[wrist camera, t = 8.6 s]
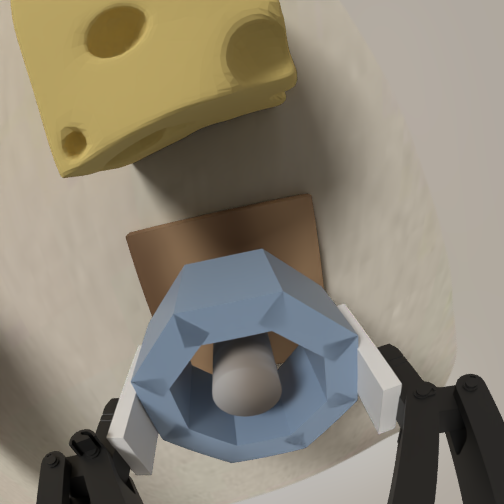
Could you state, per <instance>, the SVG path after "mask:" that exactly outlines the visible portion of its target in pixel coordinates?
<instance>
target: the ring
mask: <svg viewBox="0 0 504 504" xmlns="http://www.w3.org/2000/svg"><path fill="white" fill-rule="evenodd" d="M269 331H273V332H275V333H277V334H279V335H281V336H283V337H285V338H287V339H289V340H291V341H293V342H295V343H296V344H298V347H297V348H296V349H295V350H294V351H293V353H292V354H291V355H290V356H289V357H288V358H287V360H286V361H285V362H284V363H283V364H282V365H281V366H280V368H279V369H278V370H277V371H278V375H279V379H280V383H281V387H282V394H281V397H280V399H279V401H278V402H277V404H276V405H275V406H274V407H272V408H271V409H270V410H268V411H266V412H264V413H262V414H259V415H255V416H247V417H243V416H235V415H231V414H228V413H226V412H224V411H223V410H221V409H220V408H219V407H218V406H217V405H216V404H215V402H214V400H213V395H212V382H213V375H212V374H210V373H208V372H206V371H204V370H201V369H199V368H197V367H195V366H193V365H192V364H191V361H190V360H191V359H192V357H193V356H194V354H195V353H196V352H197V350H198V349H199V348H200V346H201V345H206V344H211V343H216V342H221V341H227V340H232V339H236V338H241V337H246V336H251V335H255V334H260V333H265V332H269ZM357 348H358V334H357V333H356V332H355V330H354V329H353V328H352V326H351V325H350V324H349V322H348V321H347V319H346V318H345V317H344V315H343V314H342V313H341V311H340V310H339V309H338V307H337V306H336V305H335V303H334V302H333V301H332V300H331V298H330V297H329V296H328V294H327V293H326V292H325V290H324V289H323V288H322V286H320V285H319V284H317V283H316V282H314V281H312V280H311V279H309V278H308V277H306V276H305V275H303V274H302V273H300V272H298V271H297V270H295V269H294V268H292V267H291V266H289V265H287V264H286V263H284V262H283V261H281V260H280V259H278V258H276V257H275V256H273V255H272V254H270V253H269V252H267V251H265V250H264V249H257V250H253V251H248V252H243V253H238V254H234V255H229V256H224V257H219V258H215V259H210V260H205V261H201V262H196V263H191V264H186V265H184V267H183V268H182V270H181V271H180V273H179V275H178V276H177V278H176V279H175V281H174V283H173V284H172V286H171V287H170V289H169V291H168V292H167V294H166V296H165V297H164V299H163V300H162V302H161V304H160V305H159V307H158V309H157V310H156V312H155V314H154V315H153V317H152V319H151V320H150V322H149V325H148V328H147V331H146V334H145V337H144V340H143V343H142V346H141V349H140V352H139V356H138V359H137V362H136V365H135V369H134V372H133V375H132V379H131V384H132V386H133V388H134V390H135V392H136V393H137V395H138V397H139V399H140V401H141V403H142V405H143V406H144V408H145V410H146V412H147V414H148V415H149V417H150V419H151V421H152V422H153V424H154V426H155V427H156V429H157V431H158V433H159V434H160V436H161V438H162V439H163V440H165V441H168V442H170V443H173V444H175V445H178V446H181V447H184V448H186V449H189V450H192V451H195V452H198V453H201V454H204V455H207V456H210V457H213V458H217V459H220V460H223V461H227V462H230V463H235V462H241V461H247V460H253V459H258V458H263V457H268V456H273V455H278V454H282V453H287V452H291V451H295V450H299V449H303V448H306V447H307V446H308V445H310V444H311V443H312V442H313V441H314V440H315V439H317V438H318V437H319V436H320V435H321V434H322V433H323V432H324V431H326V430H327V429H328V428H329V427H330V426H331V425H332V424H333V423H334V422H335V421H336V420H338V419H339V418H340V417H341V416H342V415H343V414H344V413H345V412H346V411H347V410H348V409H349V408H350V407H351V406H352V405H353V404H354V403H355V402H356V401H357V399H358V393H357V382H358V365H357Z"/></svg>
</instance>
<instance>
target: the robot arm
mask: <svg viewBox="0 0 504 504" xmlns="http://www.w3.org/2000/svg"><path fill="white" fill-rule="evenodd" d="M337 307H338V309H339V310H340V311H341V313H342V314H343V315H344V317H345V318H346V319H347V321H348V322H349V324H350V325H351V326H352V328H353V329H354V330H355V332H356V333H357V334H358V348H357V365H358V382H357V393H358V395H359V397H360V399H361V401H362V403H363V405H364V407H365V409H366V411H367V413H368V415H369V417H370V419H371V420H372V422H373V424H374V426H375V428H376V430H377V433H378V434H381V433H384V432H386V431H389V430H392V429H394V428H395V425H396V420H397V422H398V424H399V426H400V432H399V437H398V441H397V442H398V447H397V454H396V461H395V467H394V473H393V478H392V484H391V489H390V494H389V499H388V503H387V504H434V502H435V494H436V484H437V471H438V454H439V433H443V432H445V434H446V437H447V440H448V444H449V447H450V451H451V455H452V458H453V462H454V466H455V470H456V474H457V478H458V482H459V487H460V491H461V496H462V500H463V504H504V422H503V419H502V417H501V414H500V413H499V410H498V408H497V406H496V404H495V402H494V400H493V398H492V396H491V394H490V392H489V390H488V388H487V386H486V384H485V382H484V380H483V379H482V378H481V377H479V376H478V375H474V374H466V375H463V376H461V377H460V378H459V379H458V380H457V383H456V385H454V386H447V387H436V386H435V385H434V384H432V383H430V382H424V381H423V380H422V379H421V377H420V376H419V375H418V374H417V372H416V371H415V370H414V368H413V367H412V366H411V365H410V363H409V362H408V361H407V359H406V358H405V357H404V356H403V354H402V353H401V352H400V350H399V349H398V348H396V347H394V346H392V345H391V344H387V345H384V346H381V347H378V348H377V347H376V346H375V345H374V343H373V342H372V340H371V339H370V338H369V336H368V335H367V333H366V332H365V331H364V329H363V328H362V327H361V325H360V324H359V322H358V321H357V320H356V318H355V317H354V315H353V314H352V313H351V311H350V310H349V309H348V307H347V306H346V305H345V304H341V305H337ZM141 346H142V345H139V346H138V348H137V351H136V353H135V356H134V359H133V362H132V364H131V367H130V370H129V373H128V375H127V378H126V381H125V384H124V387H123V389H122V392H121V395H120V398H114V399H111V400H110V401H109V402H108V404H107V405H106V406H105V408H104V411H103V415H102V417H101V419H100V420H101V421H100V422H99V425H98V428H97V431H96V433H94V432H93V431H91V430H88V429H84V430H80V431H78V432H76V433H75V434H74V435H73V436H72V437H71V439H70V442H69V446H70V447H71V448H72V449H73V450H74V452H75V453H76V454H77V455H75V456H71V457H65V456H64V455H63V454H62V453H61V452H59V451H54V452H50V453H49V454H47V455H46V456H45V457H44V458H43V461H42V464H41V470H40V477H39V485H38V493H37V503H36V504H143V502H142V500H141V498H140V496H139V493H138V491H137V489H136V487H135V484H134V482H133V480H132V479H131V477H130V476H129V472H130V469H131V470H132V471H133V472H134V473H135V474H136V475H152V469H153V463H154V456H155V450H156V444H157V438H158V431H157V429H156V427H155V426H154V424H153V422H152V421H151V419H150V417H149V415H148V414H147V412H146V410H145V408H144V406H143V405H142V403H141V401H140V399H139V397H138V395H137V393H136V392H135V390H134V388H133V386H132V384H131V379H132V375H133V372H134V369H135V365H136V362H137V359H138V356H139V352H140V349H141Z"/></svg>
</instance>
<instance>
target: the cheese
mask: <svg viewBox="0 0 504 504" xmlns="http://www.w3.org/2000/svg"><path fill="white" fill-rule="evenodd" d="M11 10H12V18H13V23H14V28H15V32H16V36H17V39H18V43H19V46H20V50H21V53H22V56H23V59H24V62H25V66H26V69H27V72H28V75H29V78H30V82H31V85H32V88H33V91H34V95H35V98H36V102H37V105H38V108H39V112H40V115H41V119H42V122H43V126H44V129H45V132H46V136H47V139H48V142H49V146H50V149H51V152H52V155H53V158H54V161H55V163H56V166H57V168H58V171H59V173H60V175H61V176H62V178H68V177H76V176H83V175H88V174H93V173H95V172H99V171H104V170H110V169H116V168H120V167H123V166H126V165H129V164H132V163H135V162H137V161H139V160H141V159H143V158H145V157H146V156H148V155H150V154H152V153H154V152H156V151H158V150H160V149H162V148H164V147H166V146H168V145H170V144H172V143H175V142H177V141H179V140H181V139H183V138H185V137H186V136H188V135H190V134H191V133H193V132H195V131H197V130H199V129H201V128H204V127H206V126H209V125H212V124H215V123H218V122H223V121H227V120H230V119H233V118H236V117H239V116H242V115H245V114H248V113H252V112H255V111H259V110H263V109H267V108H271V107H275V106H278V105H281V104H282V103H284V101H285V100H286V94H285V91H288V90H290V89H291V88H293V87H294V86H295V85H296V81H297V71H296V68H295V65H294V63H293V60H292V57H291V54H290V51H289V47H288V42H287V36H286V28H285V23H284V17H283V14H282V11H281V6H280V3H279V0H11Z"/></svg>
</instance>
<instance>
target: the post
mask: <svg viewBox="0 0 504 504" xmlns="http://www.w3.org/2000/svg"><path fill="white" fill-rule="evenodd" d="M126 240H127V243H128V246H129V250H130V253H131V256H132V259H133V262H134V266H135V269H136V272H137V275H138V278H139V281H140V284H141V287H142V289H143V292H144V295H145V298H146V301H147V304H148V306H149V309H150V312H151V315H152V317H153V315H154V314H155V312H156V310H157V309H158V307H159V305H160V304H161V302H162V300H163V299H164V297H165V296H166V294H167V292H168V291H169V289H170V287H171V286H172V284H173V283H174V281H175V279H176V278H177V276H178V275H179V273H180V271H181V270H182V268H183V267H184V265H186V264H191V263H196V262H201V261H205V260H210V259H215V258H219V257H224V256H229V255H234V254H238V253H243V252H248V251H253V250H257V249H264V250H265V251H267V252H269V253H270V254H272V255H273V256H275V257H276V258H278V259H280V260H281V261H283V262H284V263H286V264H287V265H289V266H291V267H292V268H294V269H295V270H297V271H298V272H300V273H302V274H303V275H305V276H306V277H308V278H309V279H311V280H312V281H314V282H316V283H317V284H319V285H320V286H322V288H323V289H324V285H323V276H322V268H321V259H320V252H319V244H318V237H317V229H316V222H315V216H314V209H313V202H312V196H311V195H310V194H308V193H307V194H301V195H296V196H291V197H286V198H281V199H276V200H271V201H266V202H261V203H256V204H251V205H247V206H242V207H237V208H233V209H228V210H223V211H219V212H214V213H210V214H205V215H201V216H197V217H192V218H188V219H184V220H179V221H175V222H171V223H167V224H163V225H159V226H154V227H150V228H146V229H142V230H138V231H134V232H130V233H129V234H128V235H127V236H126ZM297 347H298V344H296V343H295V342H293V341H291V340H289V339H287V338H285V337H283V336H281V335H279V334H277V333H275V332H273V331H269V332H265V333H260V334H255V335H251V336H246V337H241V338H236V339H232V340H227V341H221V342H216V343H211V344H206V345H201V346H200V348H199V349H198V350H197V352H196V353H195V354H194V356H193V357H192V359H191V360H190V361H191V364H192V365H193V366H195V367H197V368H199V369H201V370H204V371H206V372H208V373H210V374H212V375H213V382H212V395H213V400H214V402H215V404H216V405H217V406H218V407H219V408H220V409H221V410H223V411H224V412H226V413H228V414H231V415H235V416H243V417H247V416H255V415H259V414H262V413H264V412H266V411H268V410H270V409H271V408H272V407H274V406H275V405H276V404H277V402H278V401H279V399H280V397H281V394H282V387H281V383H280V379H279V375H278V371H277V367H276V364H279V363H284V362H285V361H286V360H287V358H288V357H289V356H290V355H291V354H292V353H293V351H294V350H295V349H296V348H297Z"/></svg>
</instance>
